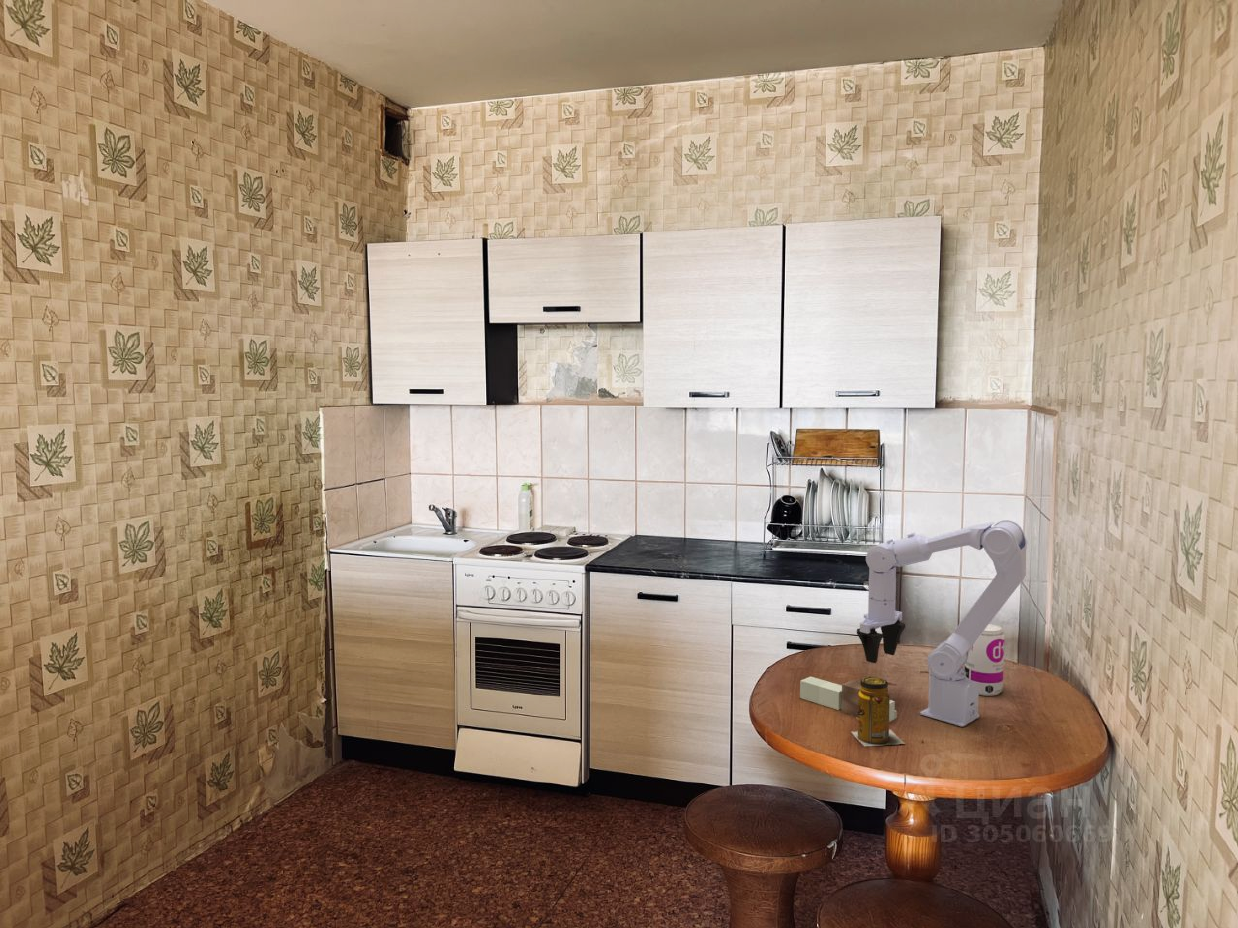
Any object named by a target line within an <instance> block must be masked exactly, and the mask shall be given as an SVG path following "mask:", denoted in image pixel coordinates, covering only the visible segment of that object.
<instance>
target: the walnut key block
mask: <svg viewBox="0 0 1238 928" xmlns="http://www.w3.org/2000/svg"><path fill="white" fill-rule="evenodd" d="M860 682H861V681H858V680H853V679H852V680H848V681H847V682H844V683H842V684H841V686H842V709H841V712H842V713H846V714H848V713H849V715H852V716H855V717H858V693H859V692H860V687H861V685H860Z"/></svg>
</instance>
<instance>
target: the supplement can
mask: <svg viewBox="0 0 1238 928" xmlns="http://www.w3.org/2000/svg"><path fill="white" fill-rule="evenodd" d="M1005 639H1006V635H1005V633H1004V630H1003V627H1002V626H1000V625H998V624H994V623H991V622H990V623H989V625H988V626H987V627H986V628H985V630H984V631H983V632H982V634H981V635H980V636H979V638H978V639H977V640H976V641H975V643H974V644H973V646H972V647H971V649H970V650H969V654H968V660H967V662H966V663H965V664H964V670H965V673H966V677H967V678H968V679H970V680H972V681H975V682H976V683H977V684H978V689H979V695H980V696H986V697H987V696H988V697H989V696H990V697H991V696H997V695H1000V693H1001V692H1003V691H1004V671H1005V670H1004V668H1005V666H1004V665H1005V644H1006V643H1005V641H1006V640H1005Z"/></svg>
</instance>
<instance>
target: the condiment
mask: <svg viewBox="0 0 1238 928" xmlns="http://www.w3.org/2000/svg"><path fill="white" fill-rule="evenodd" d="M860 679H861V680H860V681H859V682H860V685H861V687H860V692H859V693H858V716H857V723H856V724H857V731H851V730H850V733H851V734H852V735H853V737H855V738H856V739H857V741H858V742H859V743H860V744H861V745H862V746H863V747H881V746H882V747H884V746H888V745H890V746H892V745H894V746H895V745H900V744H901V745H904V744H905V745H906V742H904V741H903V740H902V739H901V738H899V736H897V735H896V733H895V732H893V730H892V729H890V722H889V705H890V700H891V699H890V698H891V696H890V694H889V689H888V687H889V682H888V681H887V680H886V679H884V678H882V677H877V676H865V677H862V678H860Z"/></svg>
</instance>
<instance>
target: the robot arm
mask: <svg viewBox="0 0 1238 928" xmlns="http://www.w3.org/2000/svg"><path fill="white" fill-rule="evenodd" d="M993 524H994V525H993ZM992 525H993V526H992ZM967 546H969V547H971V548H973V549H975V550H977V551H981V550H983V549H984V551H985V553H986V554H987V555H988V556H989V558H990V559H991V560H992V563H993V565H994V568H995V569H994V570H995V572H996V575H995V576H994V577H993V579H992V580H991V581H990V583H989V584H988V585H987V586H986V588H985V589H984V591H982V593H981V595H980V596H979V597H978V598H977V600H976V602H975V603H974V604H973V605H972V607H971V608H970V609H969V610H968V612H967V613H966V614H965V615H964V617H963V618H962V620H961V621H960V623H959V624H958V625H957V626H956V628H955V629H954V630H953V631H952V633H951V634H950V635H949V636H948V637H947V638H946V639H944V640H942V641H941V642H940V643H939V644H938V646H937V647H935V649H933V650H932V651H931V652H930V653H929V654H928V656H927V659H926V662H927V663H926V664H927V667H928V670H929V675H928V676H929V677H928V678H929V679H928V684H929V685H928V707H926V708H925V709H923V710H922V711H920V712H919V714H920V715H921V716H925V717H928V718H932V719H935V720H938V721H942V722H944V723H948V724H952V725H955V726H959V727H962V728H963V727H966V726H967V725H968V724H970V723H971V722H973V721H975V720H976V719H978V718H979V717H980V714H979V689H978V684H977V683H976V682H975V681H972V680H970V679H968V678H967V677H966V673H965V670H964V669H965V667H964V666H965V663H966V662H967V660H968V654H969V650H970V649H971V647H972V646H973V644H974V643H975V641H976V640H977V639H978V638H979V636H980V635H981V634H982V632H983V631H984V630H985V628H986V627H987V626H988V625H989V623H991V622H992V621H993V619H995V617H996V615H998V613H999V612H1000V610H1002V608H1003V607H1004V605H1005V604H1006V603H1007V602H1008V600H1009V599H1010V597H1011V596H1012V595H1013V594H1014V593H1015V591H1016V589H1017V588H1019V586H1020V584H1021V583H1022V582H1023V580H1024V579H1025V577H1026V574H1027V549H1028V548H1027V547H1028V541H1027V538H1026V536H1025V532H1024V530H1023V528H1022V527H1021V525H1019V524H1018V523H1017V522H1015V521H1013V520H1010V519H1009V520H1006V519H1005V520H1001V521H998V522H997V523H995V521H994V522H993V521H992V522H985V523H979V524H974V525H970V526H966V527H964V528H960V529H957V530H952V531H950V532H947V533H946V532H945V533H943V534H939V535H936V536H932V537H927V536H925V535H923V534H921V533H919V534H916V533H915V532H911V533H909V534H907V535H906V537H905V538H904V537H903V538H900V539H896V540H893V539H888V540H886V542H881V543H879V544H877V545H875V546H873V547H871V548H870V549H869V550H868V551H867V553H866V554H865V562H866V564H867V565H866V566H867V567H868V568H869V570H868V572H869V573H868V574H869V575H868V599H867V600H868V603H867V604H868V605H867V606H868V607H867V608H868V609H867V611H868V612H866V613H865V614H863V618H864V620H863V621H862V622H860V623H859V628H856V635H857V636H858V637H859V640H860V642H861V645H862V648H863V652H864V655H865V660H866V662H868V663H872V664H876V663H877V662H878V657H879V651H880V650H879V649H880V645H881V643H883V646H882V647H883V651H884V654H886V655H889V656H895V654H896V650H897V648H898V643H899V640H900V637H901V635H902V633H903V631H904V630H905V628H906V623H905V622H901V621H903V611H900V610H899V611H898V610H896V601H897V600H896V593H897V592H896V591H897V578H896V577H897V576H896V575H897V567H898V568H899V567H901V568H902V567H905V566H909V565H912V564H913V565H914V564H917V563H922V562H926V561H929V560H930V559H931V556H932V555H933V554H934V553H936V552H937V553H938V552H941V551H948V550H952V549H955V548H956V549H957V548H962V547H967ZM879 628H880V630H881V633H880V632H877V630H876V629H879ZM882 641H883V642H882Z"/></svg>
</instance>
